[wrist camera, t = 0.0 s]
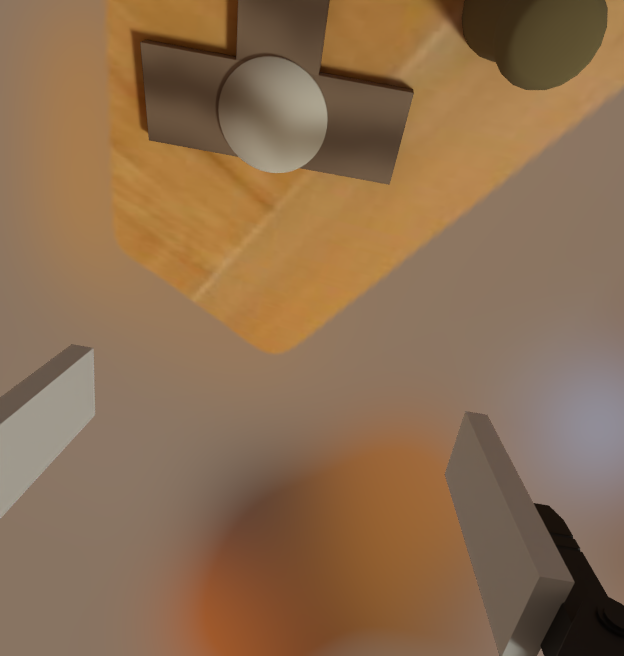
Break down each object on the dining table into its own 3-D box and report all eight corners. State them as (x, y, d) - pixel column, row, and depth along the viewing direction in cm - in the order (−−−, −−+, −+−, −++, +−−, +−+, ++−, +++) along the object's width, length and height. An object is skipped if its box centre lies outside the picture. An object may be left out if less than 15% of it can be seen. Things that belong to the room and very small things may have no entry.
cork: (443, 33, 32) (465, 70, 24) (503, -71, 28) (555, -71, 20) (514, 78, 33) (558, 127, 25) (581, -16, 29) (660, 5, 21)
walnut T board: (129, -154, 28) (120, -157, 27) (460, -91, 28) (463, -92, 27) (154, 144, 39) (148, 150, 38) (387, 187, 39) (387, 194, 38)
